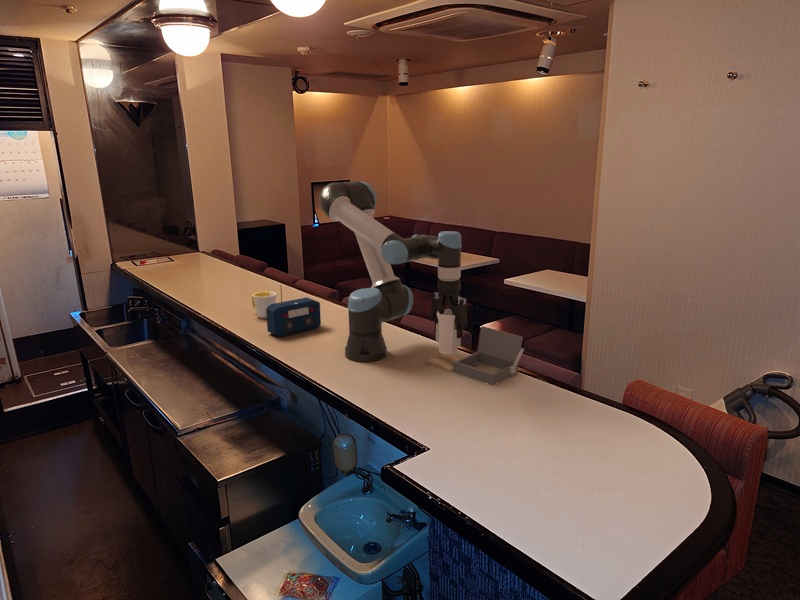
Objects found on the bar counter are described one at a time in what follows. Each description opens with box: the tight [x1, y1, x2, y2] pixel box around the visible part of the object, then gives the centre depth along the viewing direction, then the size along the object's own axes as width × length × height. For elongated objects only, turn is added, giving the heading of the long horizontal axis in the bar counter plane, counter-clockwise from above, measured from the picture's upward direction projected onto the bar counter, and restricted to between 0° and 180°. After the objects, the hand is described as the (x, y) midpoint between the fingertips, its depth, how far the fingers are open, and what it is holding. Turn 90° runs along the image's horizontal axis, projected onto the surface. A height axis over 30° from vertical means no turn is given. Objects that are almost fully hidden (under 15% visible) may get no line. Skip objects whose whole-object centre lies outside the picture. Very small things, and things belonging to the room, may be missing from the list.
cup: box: [437, 308, 458, 355], centre depth 185 cm, size 8×8×14 cm
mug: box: [251, 291, 277, 319], centre depth 243 cm, size 14×10×10 cm
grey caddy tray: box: [452, 325, 525, 386], centre depth 178 cm, size 16×17×12 cm
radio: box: [266, 284, 322, 338], centre depth 220 cm, size 21×9×20 cm, turn 129°
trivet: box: [424, 354, 463, 372], centre depth 188 cm, size 11×11×1 cm
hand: (448, 343), depth 186 cm, fingers closed on cup, 7 cm apart
